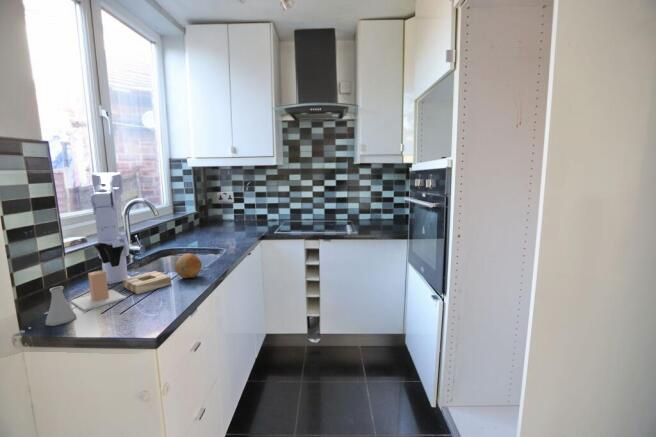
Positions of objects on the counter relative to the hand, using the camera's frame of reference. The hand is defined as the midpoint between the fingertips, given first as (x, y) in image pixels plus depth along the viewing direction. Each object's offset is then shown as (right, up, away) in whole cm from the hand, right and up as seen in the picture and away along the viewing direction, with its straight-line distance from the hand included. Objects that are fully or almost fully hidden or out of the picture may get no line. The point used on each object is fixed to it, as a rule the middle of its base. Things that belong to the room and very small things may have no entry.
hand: (111, 264), depth 112 cm
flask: (-1, -14, -20) cm, 24 cm away
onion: (+21, -8, +16) cm, 27 cm away
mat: (0, -11, -5) cm, 13 cm away
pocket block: (+8, -9, +8) cm, 15 cm away
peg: (0, -11, -5) cm, 12 cm away
